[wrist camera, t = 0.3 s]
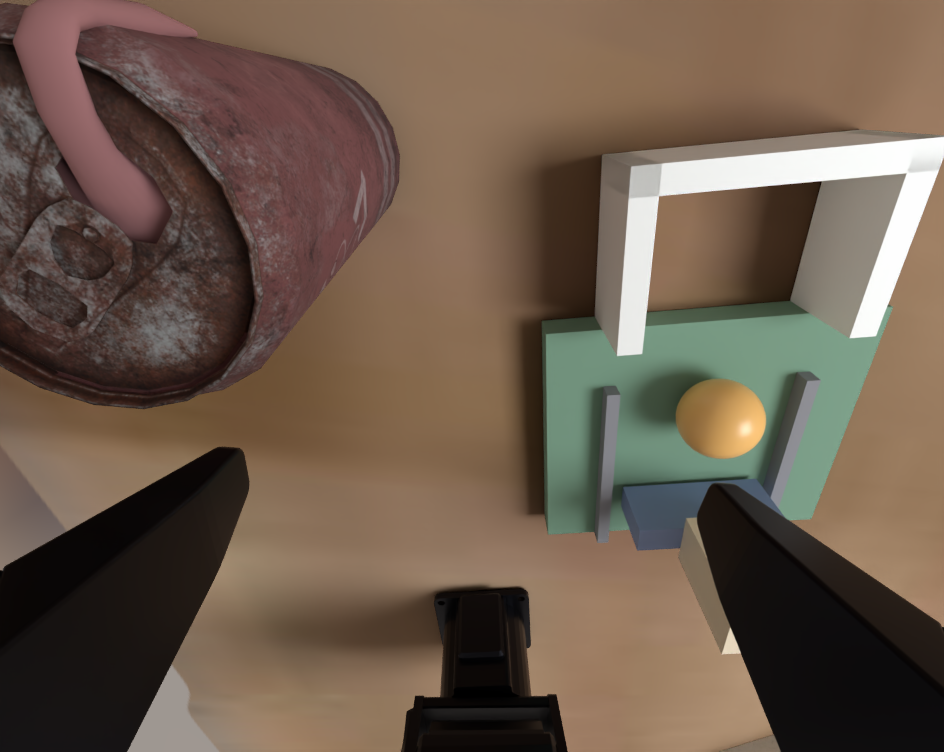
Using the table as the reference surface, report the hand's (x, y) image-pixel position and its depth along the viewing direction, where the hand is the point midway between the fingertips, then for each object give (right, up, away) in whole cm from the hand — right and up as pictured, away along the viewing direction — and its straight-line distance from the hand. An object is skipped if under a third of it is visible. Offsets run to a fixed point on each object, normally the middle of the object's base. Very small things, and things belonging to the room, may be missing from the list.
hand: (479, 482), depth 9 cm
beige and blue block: (+11, -4, +16) cm, 21 cm away
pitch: (+11, 0, +16) cm, 20 cm away
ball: (+11, 0, +12) cm, 16 cm away
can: (-6, +11, +10) cm, 16 cm away
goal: (+10, +8, +11) cm, 17 cm away
